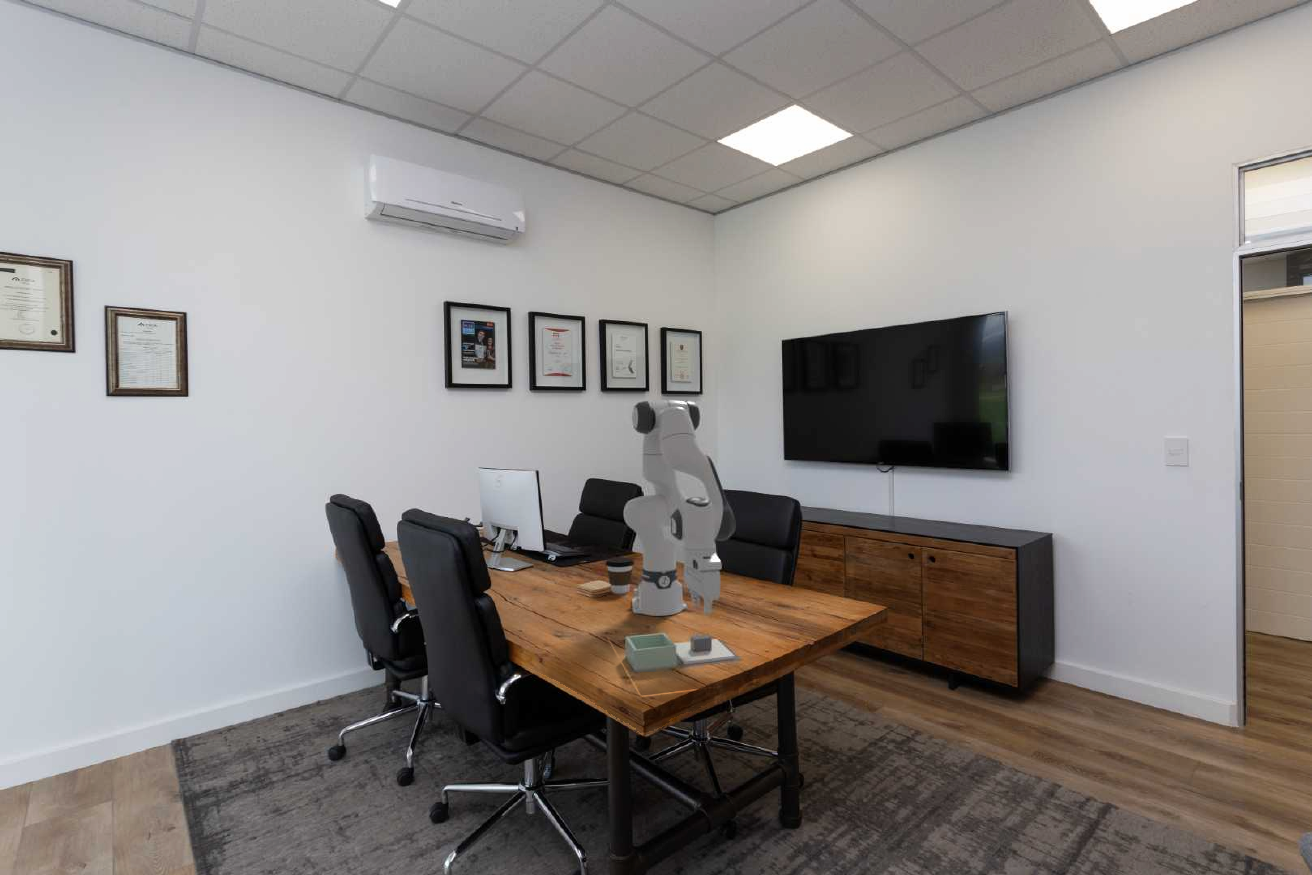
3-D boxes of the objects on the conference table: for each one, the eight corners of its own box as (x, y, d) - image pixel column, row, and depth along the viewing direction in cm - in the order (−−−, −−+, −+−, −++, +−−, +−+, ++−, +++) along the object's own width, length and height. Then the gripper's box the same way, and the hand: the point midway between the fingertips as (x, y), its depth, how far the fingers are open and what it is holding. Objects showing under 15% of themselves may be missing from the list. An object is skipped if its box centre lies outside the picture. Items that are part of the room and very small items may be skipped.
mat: (662, 646, 183) (662, 645, 183) (719, 640, 187) (719, 639, 187) (680, 668, 167) (680, 667, 167) (742, 661, 171) (742, 660, 171)
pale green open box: (625, 658, 174) (625, 636, 174) (665, 654, 177) (664, 632, 177) (634, 674, 164) (634, 650, 163) (676, 669, 166) (676, 646, 166)
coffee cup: (604, 588, 248) (603, 557, 248) (632, 587, 250) (632, 556, 250) (607, 596, 237) (606, 563, 237) (637, 594, 239) (636, 562, 239)
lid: (669, 646, 182) (669, 631, 182) (716, 641, 186) (716, 626, 185) (684, 664, 168) (683, 648, 168) (734, 658, 172) (734, 642, 172)
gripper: (677, 552, 185) (679, 600, 186) (700, 566, 166) (702, 620, 166) (698, 550, 187) (700, 598, 187) (724, 564, 167) (725, 617, 167)
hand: (701, 608), depth 176 cm, fingers open, 8 cm apart
